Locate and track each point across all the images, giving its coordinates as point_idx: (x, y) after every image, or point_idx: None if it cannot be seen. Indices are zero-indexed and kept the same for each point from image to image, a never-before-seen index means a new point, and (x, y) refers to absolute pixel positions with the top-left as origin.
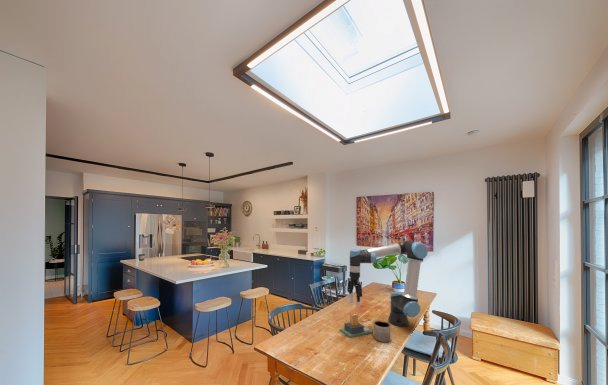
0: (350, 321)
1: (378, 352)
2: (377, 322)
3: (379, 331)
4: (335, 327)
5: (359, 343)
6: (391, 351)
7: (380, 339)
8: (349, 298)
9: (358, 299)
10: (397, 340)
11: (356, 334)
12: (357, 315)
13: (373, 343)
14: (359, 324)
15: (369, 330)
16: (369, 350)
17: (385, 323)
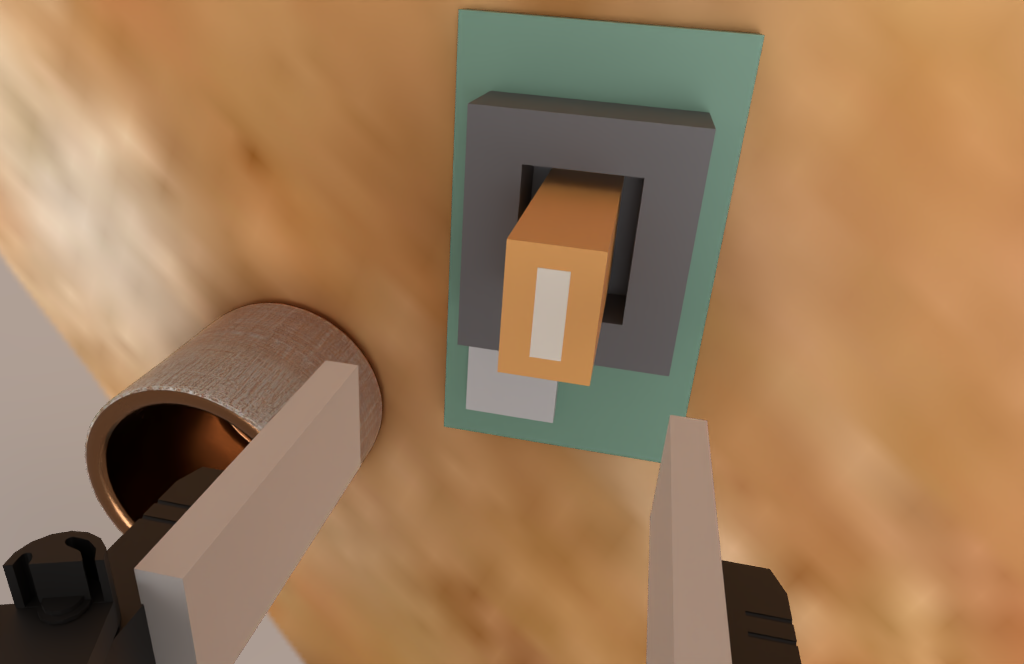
0: (606, 208)
1: (30, 86)
2: None
3: (169, 359)
4: (911, 52)
5: (279, 28)
6: (28, 242)
7: (215, 321)
8: (706, 517)
9: (137, 532)
10: None
11: (461, 155)
12: (500, 356)
13: (226, 207)
14: None
15: (468, 401)
16: (89, 15)
17: None
